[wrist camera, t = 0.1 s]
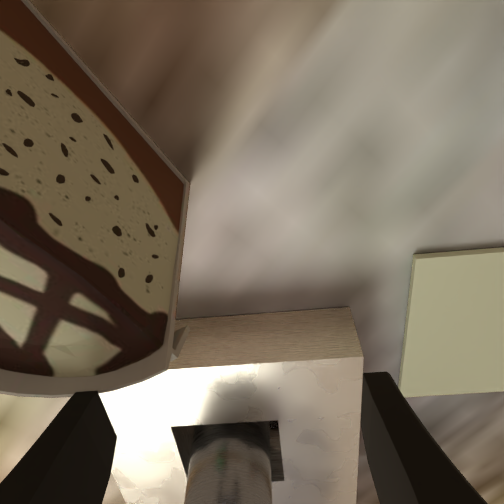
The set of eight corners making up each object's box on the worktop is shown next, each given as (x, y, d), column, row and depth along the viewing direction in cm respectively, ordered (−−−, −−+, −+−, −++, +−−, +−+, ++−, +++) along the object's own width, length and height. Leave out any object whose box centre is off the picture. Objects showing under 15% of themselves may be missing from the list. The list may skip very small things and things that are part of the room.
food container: (-121, 59, 17) (-506, 151, 8) (-23, -60, 15) (-398, -97, 6) (116, 273, 22) (30, 462, 14) (211, 208, 20) (181, 382, 12)
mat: (568, 381, 26) (572, 386, 26) (397, 392, 27) (399, 397, 26) (629, 236, 21) (635, 241, 20) (413, 254, 21) (415, 259, 21)
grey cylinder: (271, 422, 28) (276, 564, 22) (203, 426, 29) (188, 567, 22) (265, 375, 26) (269, 518, 19) (191, 380, 26) (170, 522, 19)
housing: (345, 462, 31) (355, 514, 28) (147, 473, 31) (136, 525, 28) (349, 307, 23) (363, 356, 20) (89, 326, 24) (65, 376, 21)
